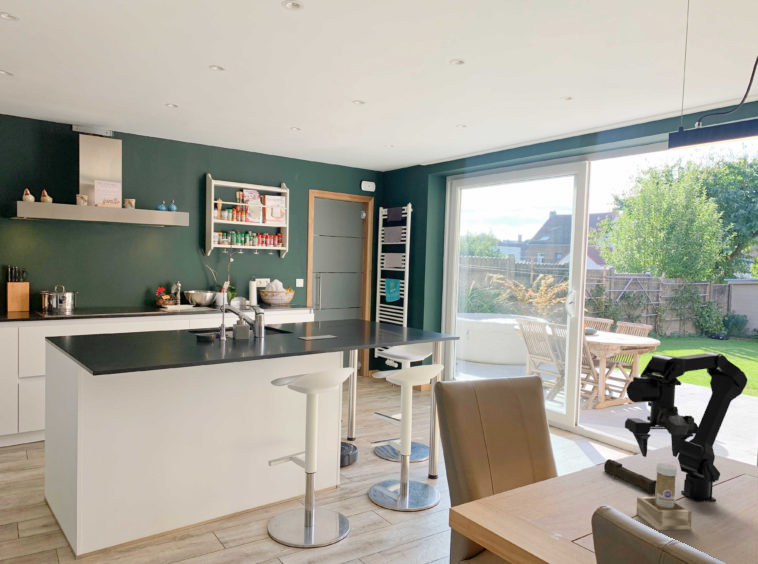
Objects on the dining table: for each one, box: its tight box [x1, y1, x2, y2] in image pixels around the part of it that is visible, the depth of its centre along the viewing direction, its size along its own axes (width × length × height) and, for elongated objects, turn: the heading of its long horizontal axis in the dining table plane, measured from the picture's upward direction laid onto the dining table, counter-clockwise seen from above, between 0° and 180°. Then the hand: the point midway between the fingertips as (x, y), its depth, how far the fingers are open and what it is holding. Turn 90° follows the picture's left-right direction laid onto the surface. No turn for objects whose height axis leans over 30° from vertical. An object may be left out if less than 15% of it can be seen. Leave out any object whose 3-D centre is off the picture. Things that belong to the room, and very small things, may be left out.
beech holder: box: [635, 496, 693, 531], centre depth 142 cm, size 9×9×4 cm
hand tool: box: [603, 458, 657, 495], centre depth 169 cm, size 19×4×5 cm, turn 21°
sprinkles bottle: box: [654, 462, 678, 510], centre depth 142 cm, size 5×5×13 cm
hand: (659, 456), depth 153 cm, fingers open, 9 cm apart
